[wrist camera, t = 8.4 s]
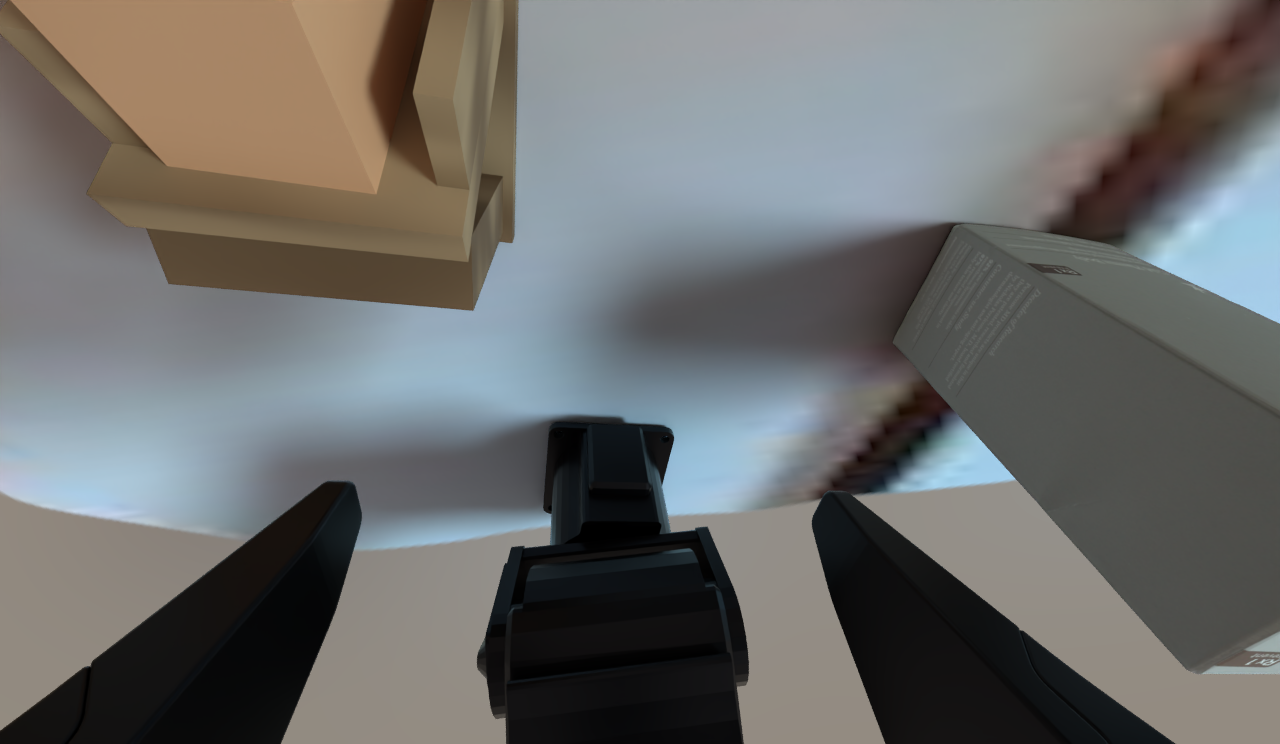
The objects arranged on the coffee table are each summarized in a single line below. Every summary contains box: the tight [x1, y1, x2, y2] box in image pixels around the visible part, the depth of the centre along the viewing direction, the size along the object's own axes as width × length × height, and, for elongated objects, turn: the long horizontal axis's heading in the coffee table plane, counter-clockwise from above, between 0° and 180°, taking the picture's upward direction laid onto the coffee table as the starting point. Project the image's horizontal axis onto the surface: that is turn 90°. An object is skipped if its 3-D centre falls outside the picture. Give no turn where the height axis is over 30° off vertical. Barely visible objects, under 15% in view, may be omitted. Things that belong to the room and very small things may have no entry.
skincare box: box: [893, 224, 1280, 674], centre depth 17 cm, size 8×7×16 cm
